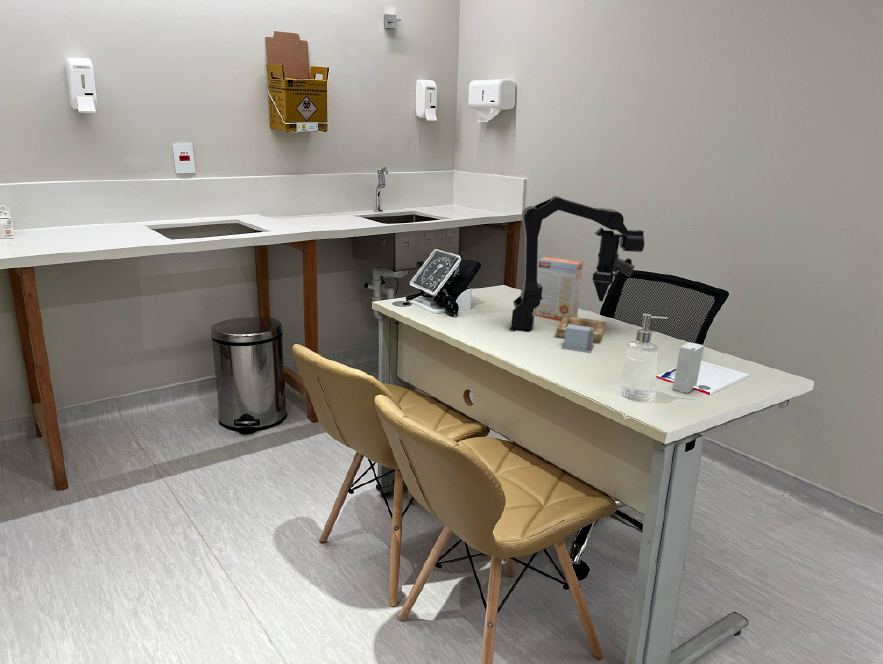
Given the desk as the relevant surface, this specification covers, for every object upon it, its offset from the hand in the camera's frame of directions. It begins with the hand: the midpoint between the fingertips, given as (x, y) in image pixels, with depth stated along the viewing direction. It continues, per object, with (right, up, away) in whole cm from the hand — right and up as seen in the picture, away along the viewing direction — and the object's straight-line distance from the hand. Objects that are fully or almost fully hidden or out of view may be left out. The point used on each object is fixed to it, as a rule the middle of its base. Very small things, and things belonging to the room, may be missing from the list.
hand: (602, 298), depth 223 cm
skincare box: (+12, -26, -42) cm, 51 cm away
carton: (-7, -12, 0) cm, 14 cm away
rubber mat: (-10, -16, -13) cm, 23 cm away
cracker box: (-12, -6, +18) cm, 23 cm away
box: (-10, -15, -13) cm, 23 cm away
